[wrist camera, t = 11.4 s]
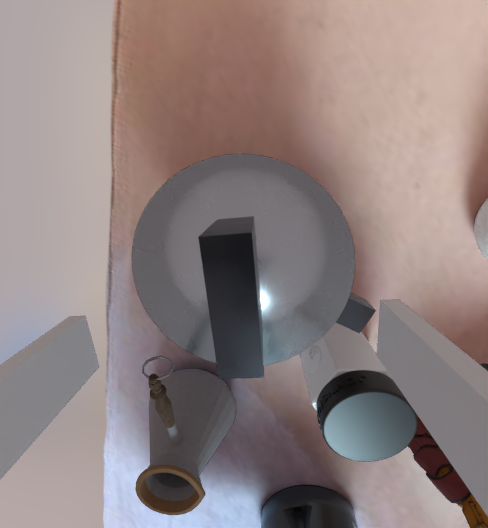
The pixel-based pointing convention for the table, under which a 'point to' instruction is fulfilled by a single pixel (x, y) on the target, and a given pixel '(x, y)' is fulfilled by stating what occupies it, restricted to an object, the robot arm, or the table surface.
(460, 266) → the table surface
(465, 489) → the mug
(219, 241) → the lid
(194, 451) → the coffee pot
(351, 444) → the jar
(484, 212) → the lidded jar
